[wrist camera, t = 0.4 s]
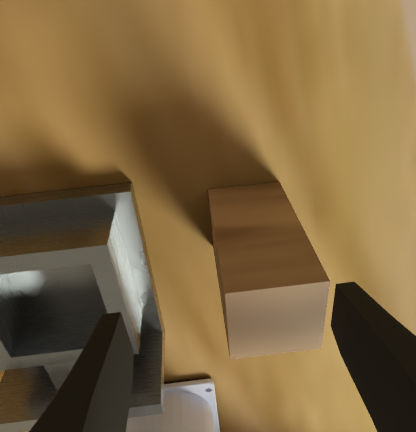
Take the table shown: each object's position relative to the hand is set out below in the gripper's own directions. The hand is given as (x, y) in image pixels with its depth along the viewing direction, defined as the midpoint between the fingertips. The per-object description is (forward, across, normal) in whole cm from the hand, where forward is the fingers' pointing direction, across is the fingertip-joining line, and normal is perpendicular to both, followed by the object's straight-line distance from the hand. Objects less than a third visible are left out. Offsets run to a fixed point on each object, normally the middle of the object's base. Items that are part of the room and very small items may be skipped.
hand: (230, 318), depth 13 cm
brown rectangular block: (+10, -2, +2) cm, 10 cm away
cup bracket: (+10, +9, +5) cm, 14 cm away
